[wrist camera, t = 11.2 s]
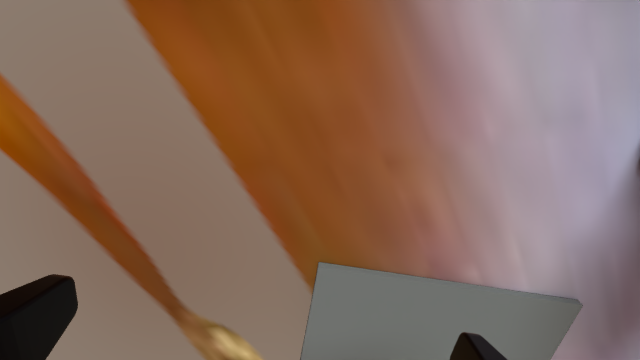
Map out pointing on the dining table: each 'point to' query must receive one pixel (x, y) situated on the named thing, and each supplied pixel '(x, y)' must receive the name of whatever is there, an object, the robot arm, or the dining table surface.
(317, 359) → the grey rectangular board
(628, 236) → the dining table surface
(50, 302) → the robot arm
